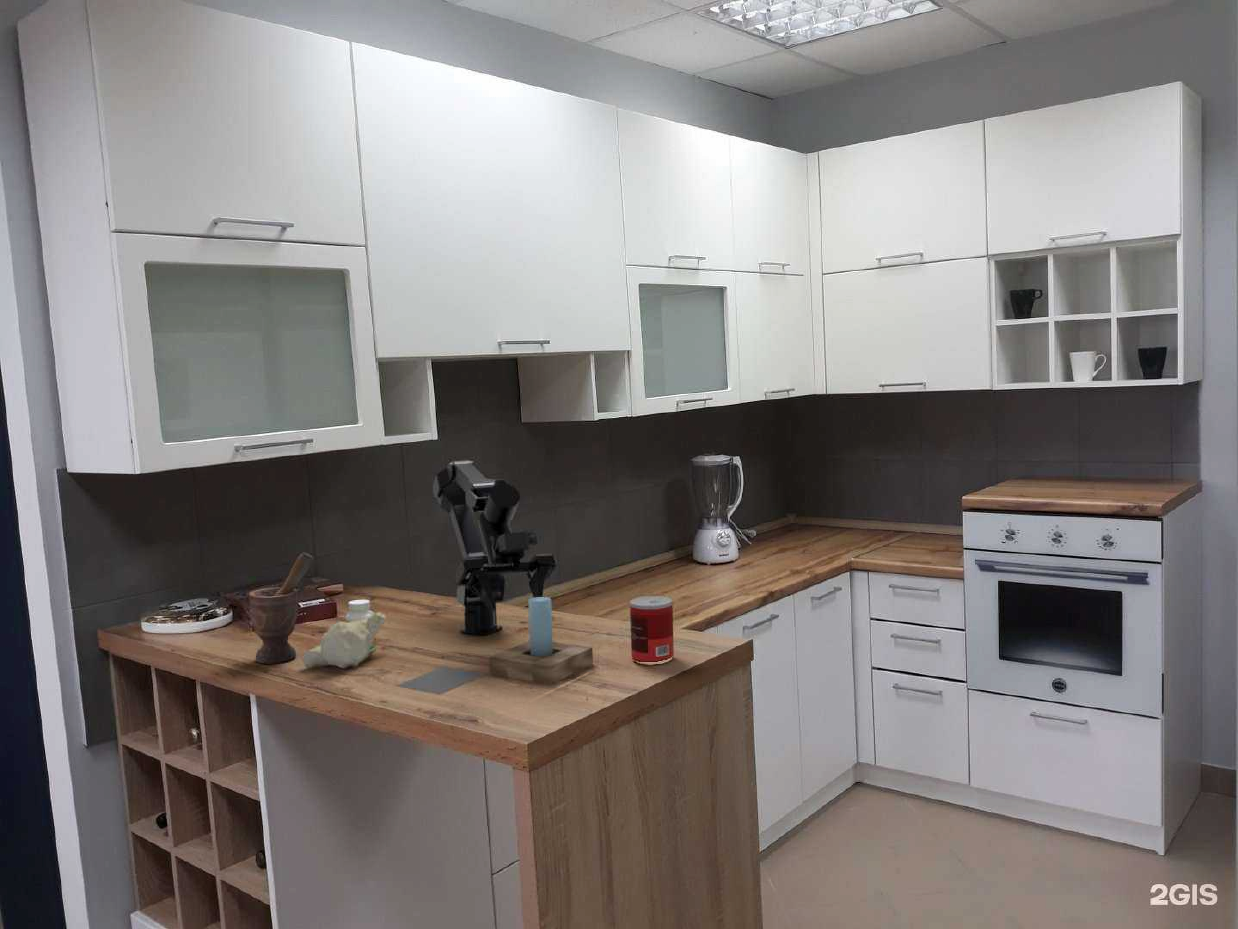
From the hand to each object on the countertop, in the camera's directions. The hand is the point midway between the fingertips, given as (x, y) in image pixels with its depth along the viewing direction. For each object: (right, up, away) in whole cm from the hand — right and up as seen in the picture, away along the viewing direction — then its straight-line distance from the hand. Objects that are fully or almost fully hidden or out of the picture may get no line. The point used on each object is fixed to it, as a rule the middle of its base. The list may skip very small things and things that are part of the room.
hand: (517, 608), depth 184 cm
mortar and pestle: (-45, -11, +7) cm, 47 cm away
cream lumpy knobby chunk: (-32, -11, +3) cm, 34 cm away
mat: (-12, -11, -11) cm, 20 cm away
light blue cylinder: (+5, -10, -6) cm, 13 cm away
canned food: (+25, -9, -1) cm, 27 cm away
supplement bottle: (-31, -10, +10) cm, 34 cm away
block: (+5, -10, -6) cm, 13 cm away
